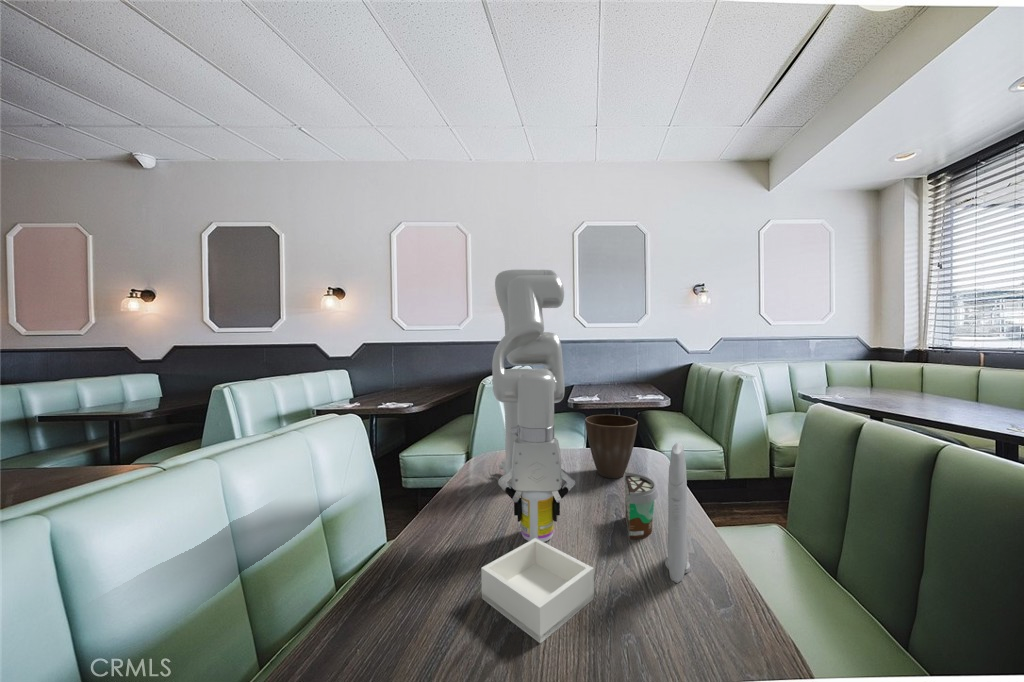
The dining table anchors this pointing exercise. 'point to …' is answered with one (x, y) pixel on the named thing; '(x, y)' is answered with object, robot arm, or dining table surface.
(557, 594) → the box
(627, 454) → the plant pot
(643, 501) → the food container
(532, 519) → the supplement bottle
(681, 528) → the tall pale column
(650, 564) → the dining table surface
